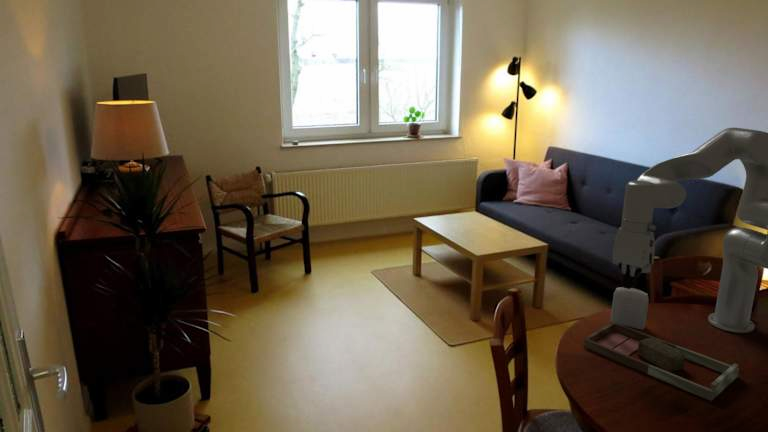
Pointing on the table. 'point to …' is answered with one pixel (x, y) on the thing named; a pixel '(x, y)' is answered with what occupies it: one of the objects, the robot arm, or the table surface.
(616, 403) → the table surface
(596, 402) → the table surface
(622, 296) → the photo printer
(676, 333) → the table surface
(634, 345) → the frame
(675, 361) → the stone block
